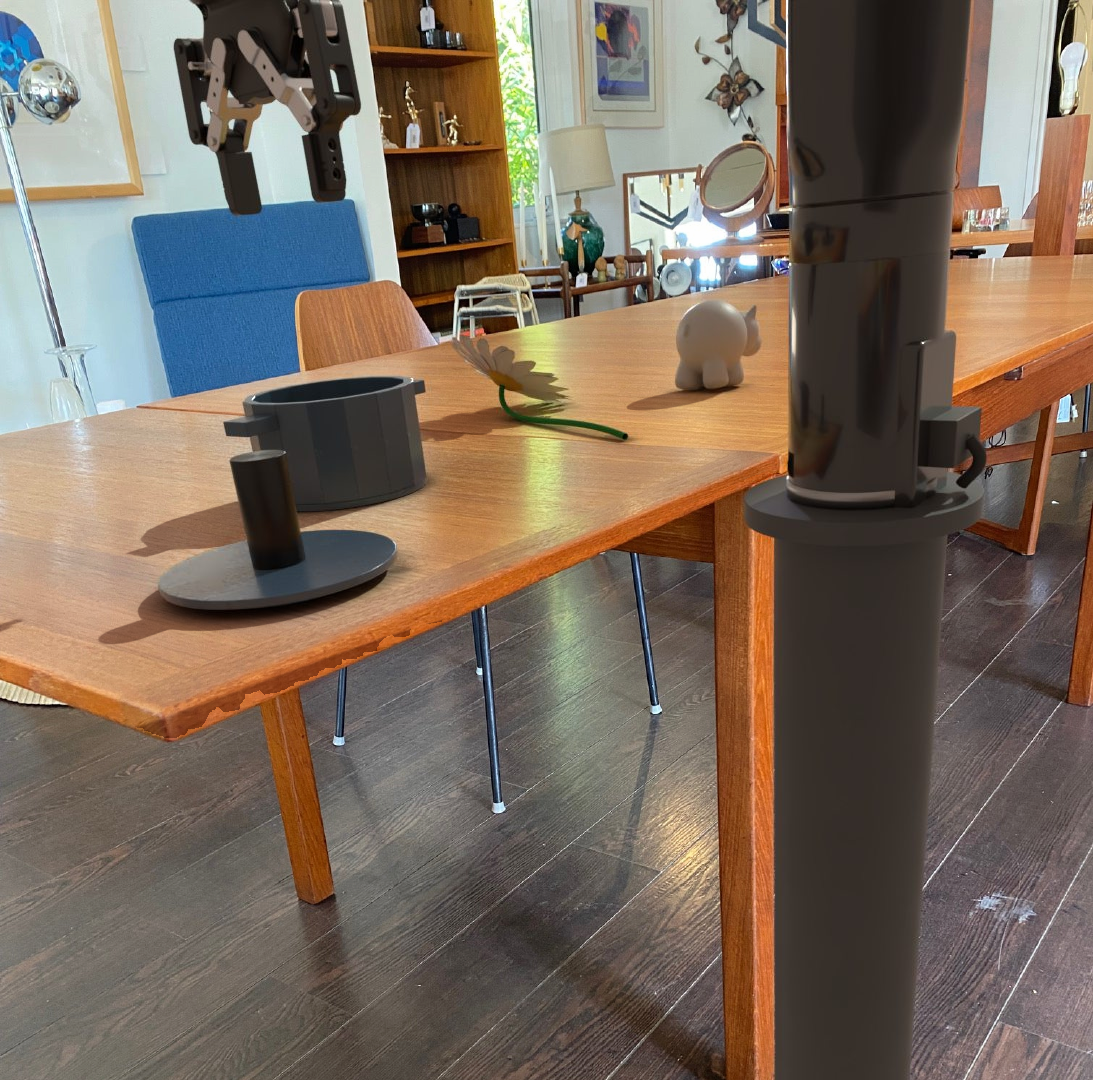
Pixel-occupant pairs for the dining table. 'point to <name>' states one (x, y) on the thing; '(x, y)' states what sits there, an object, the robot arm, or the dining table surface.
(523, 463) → the dining table surface
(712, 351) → the chubby cartoon animal
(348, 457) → the pot
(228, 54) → the robot arm
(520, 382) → the flower
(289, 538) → the lid
